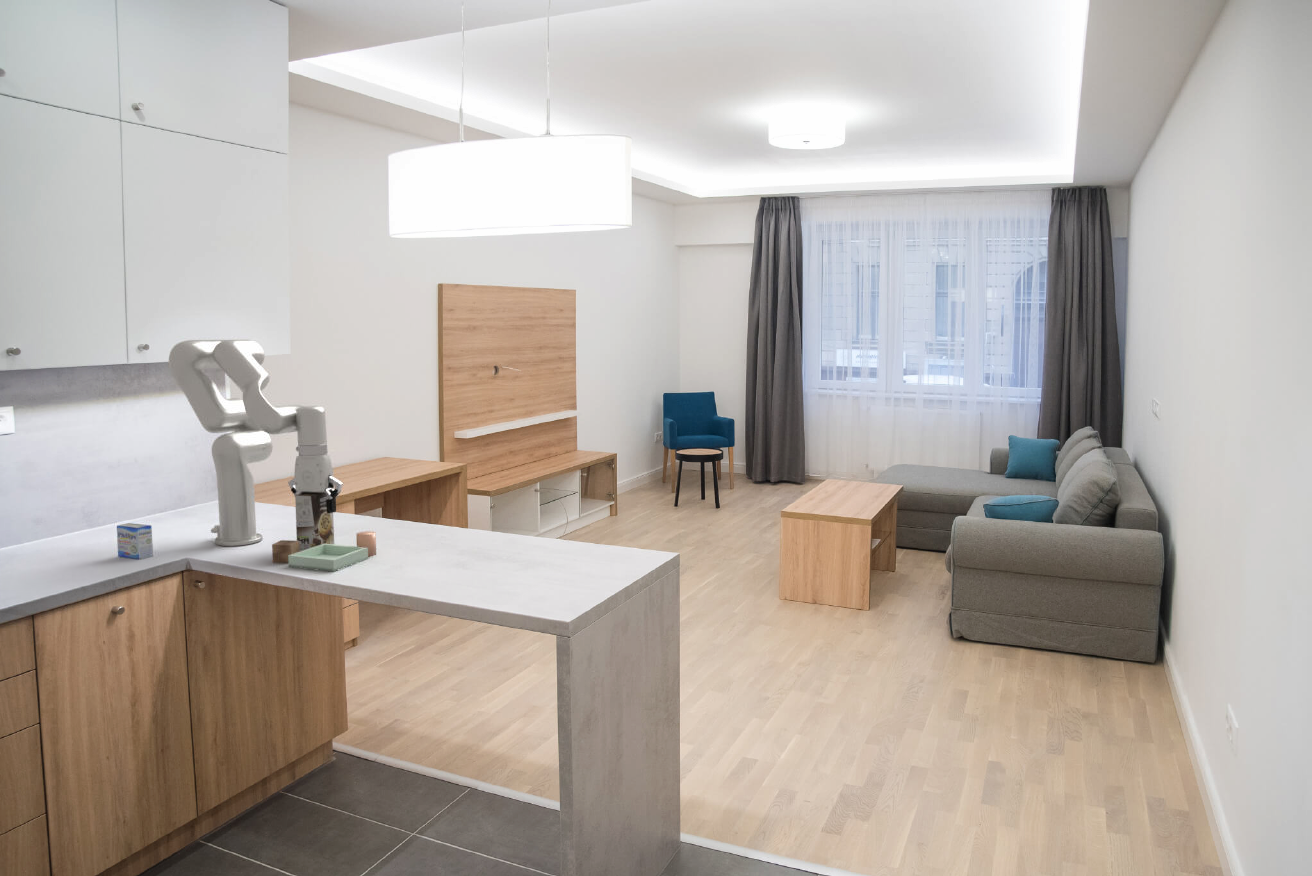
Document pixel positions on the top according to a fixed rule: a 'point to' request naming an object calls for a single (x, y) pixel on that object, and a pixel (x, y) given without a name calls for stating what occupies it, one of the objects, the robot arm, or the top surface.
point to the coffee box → (313, 520)
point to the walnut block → (284, 550)
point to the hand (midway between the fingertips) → (317, 511)
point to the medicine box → (134, 541)
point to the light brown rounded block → (367, 541)
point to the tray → (328, 557)
